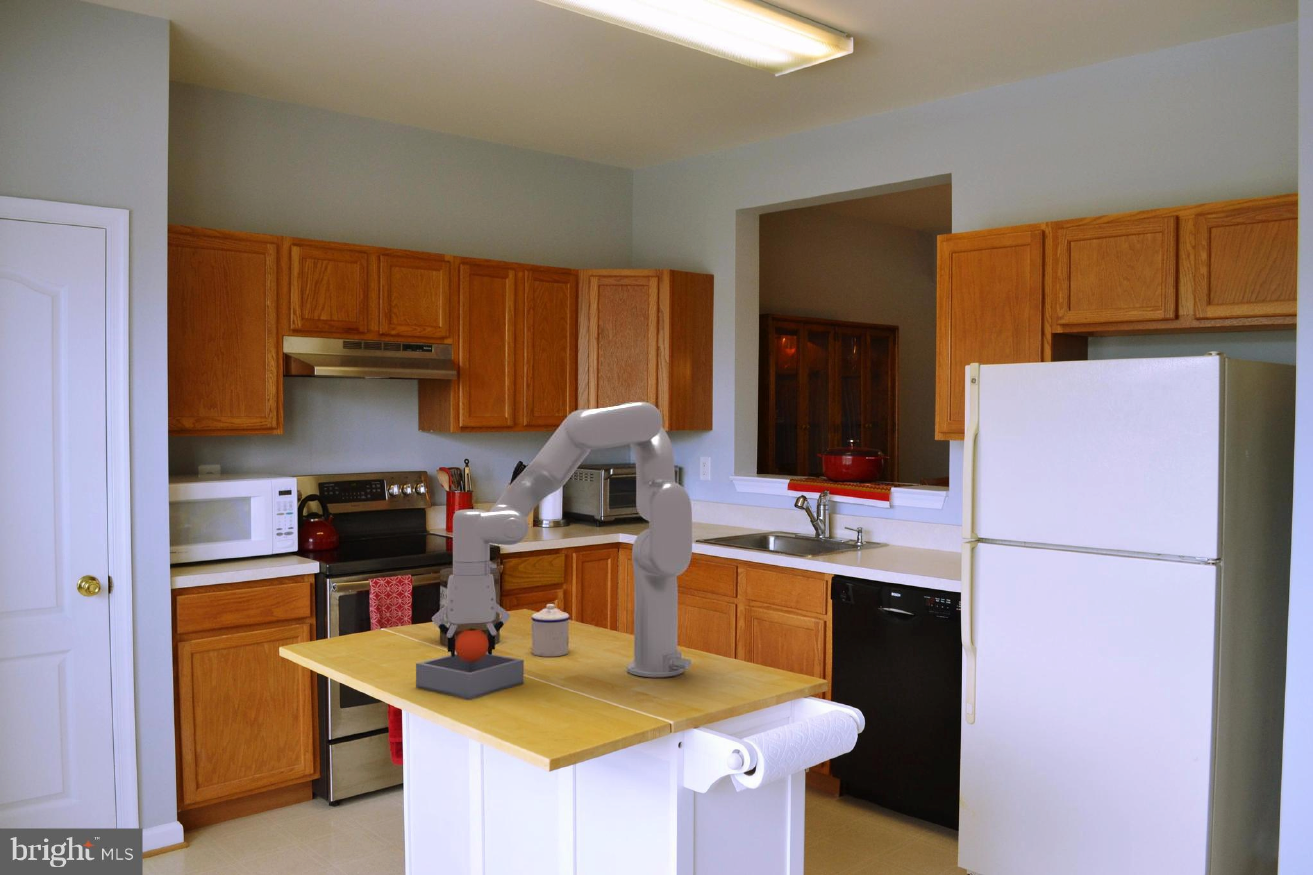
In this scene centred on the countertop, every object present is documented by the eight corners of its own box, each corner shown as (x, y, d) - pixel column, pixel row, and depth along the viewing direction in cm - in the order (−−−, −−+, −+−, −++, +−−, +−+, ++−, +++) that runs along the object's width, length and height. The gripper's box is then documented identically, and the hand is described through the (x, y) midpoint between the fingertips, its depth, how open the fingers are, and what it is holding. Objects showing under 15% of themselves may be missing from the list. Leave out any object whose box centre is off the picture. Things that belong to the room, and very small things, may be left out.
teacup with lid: (577, 653, 238) (577, 604, 238) (545, 659, 232) (545, 609, 232) (547, 645, 247) (548, 598, 247) (516, 650, 241) (517, 602, 241)
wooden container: (433, 638, 254) (434, 552, 254) (490, 634, 260) (491, 549, 260) (447, 650, 240) (447, 559, 240) (506, 645, 247) (507, 556, 246)
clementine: (458, 656, 211) (458, 623, 211) (491, 657, 211) (491, 623, 211) (451, 665, 203) (452, 630, 203) (486, 665, 203) (486, 630, 203)
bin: (523, 683, 210) (523, 659, 210) (469, 699, 197) (469, 674, 197) (471, 672, 219) (471, 649, 219) (416, 687, 206) (416, 663, 206)
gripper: (511, 565, 214) (511, 648, 214) (427, 568, 209) (427, 652, 209) (515, 570, 206) (515, 655, 206) (429, 573, 202) (429, 660, 202)
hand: (471, 653), depth 208 cm, fingers closed on clementine, 7 cm apart
